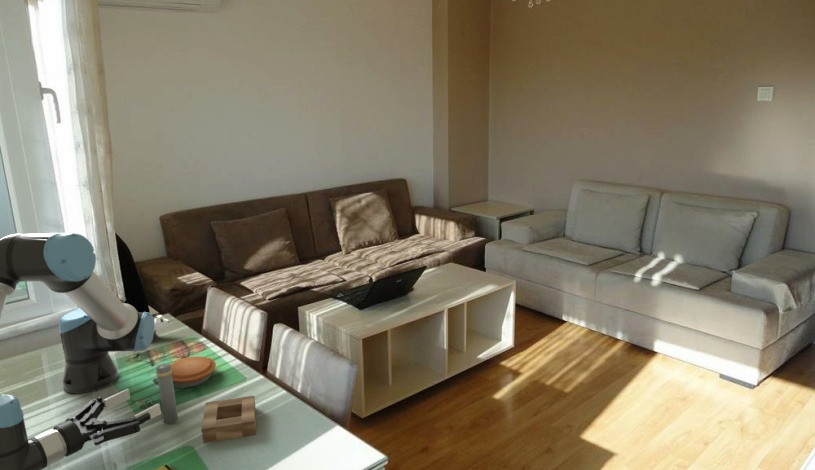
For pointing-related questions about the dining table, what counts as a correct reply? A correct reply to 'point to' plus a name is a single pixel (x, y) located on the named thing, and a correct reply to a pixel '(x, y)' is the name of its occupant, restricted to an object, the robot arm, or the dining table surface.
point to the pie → (192, 371)
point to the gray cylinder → (167, 393)
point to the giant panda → (158, 324)
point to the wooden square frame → (229, 419)
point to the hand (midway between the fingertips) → (144, 400)
